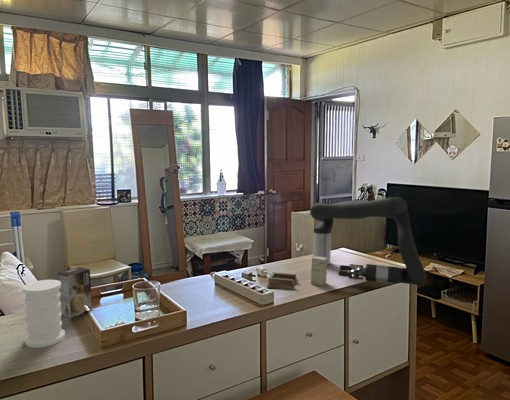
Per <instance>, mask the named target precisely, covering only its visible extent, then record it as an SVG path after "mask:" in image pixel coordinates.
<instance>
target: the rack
mask: <svg viewBox="0 0 510 400" xmlns="http://www.w3.org/2000/svg"><path fill="white" fill-rule="evenodd" d="M267 278H268V282H267V283H268V284H267V285H266V288H267V287H269V288H268V289H276V290H277V289H279V290H289V291H292V290H293V289H294V286H295V284H296V282H297V281H298V280H297V279H298V278H297V274H296V273H286V272H285V273H284V272H273V271H272V273H271V274H270V275H269V276H268V277H267Z"/></svg>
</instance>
